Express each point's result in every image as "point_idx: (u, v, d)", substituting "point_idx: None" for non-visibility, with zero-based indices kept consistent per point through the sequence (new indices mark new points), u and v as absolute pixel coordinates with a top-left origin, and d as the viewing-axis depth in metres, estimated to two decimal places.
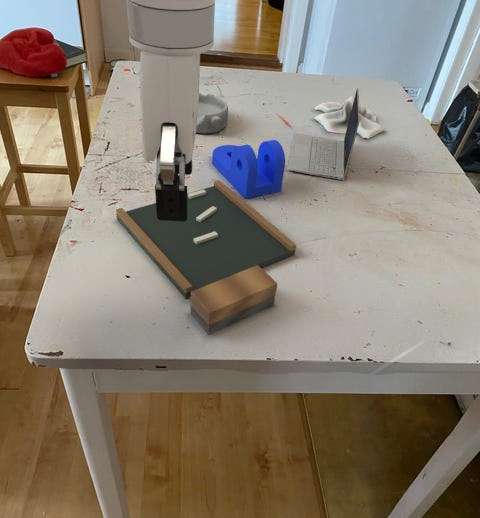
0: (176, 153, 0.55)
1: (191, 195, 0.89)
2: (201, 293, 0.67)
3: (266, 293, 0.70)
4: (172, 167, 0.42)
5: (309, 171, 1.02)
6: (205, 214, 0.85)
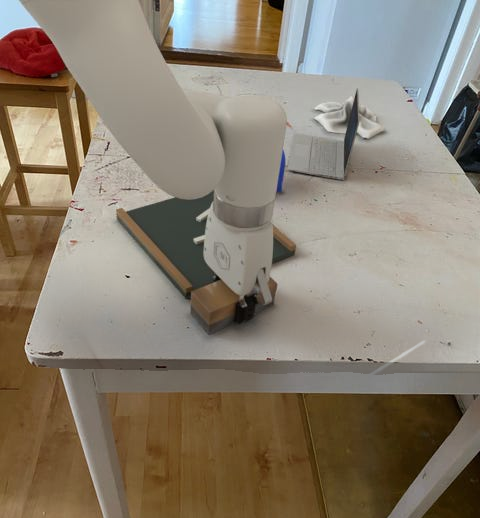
0: None
1: None
2: (201, 293, 0.67)
3: None
4: (271, 301, 0.63)
5: (309, 171, 1.02)
6: (205, 214, 0.85)
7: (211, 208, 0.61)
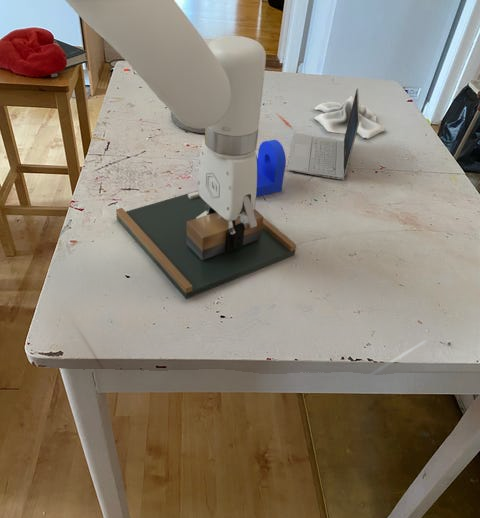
0: None
1: (191, 195, 0.89)
2: (195, 223, 0.76)
3: None
4: (255, 225, 0.72)
5: (309, 171, 1.02)
6: (205, 214, 0.85)
7: (203, 142, 0.70)
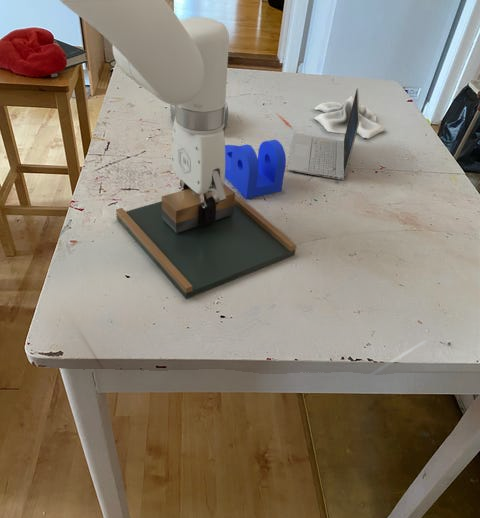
0: None
1: None
2: (170, 197, 0.80)
3: (225, 201, 0.83)
4: (225, 198, 0.76)
5: (309, 171, 1.02)
6: None
7: (175, 120, 0.74)
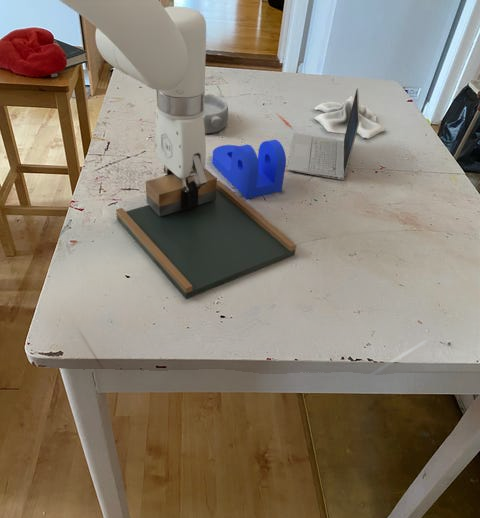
0: None
1: None
2: (153, 182, 0.84)
3: (207, 186, 0.86)
4: (205, 182, 0.79)
5: (309, 171, 1.02)
6: None
7: None
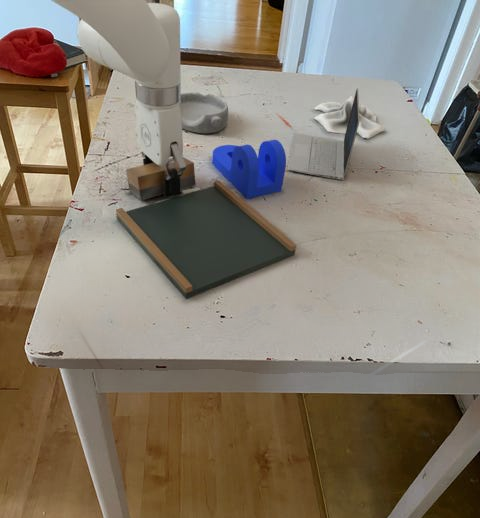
0: None
1: None
2: (133, 169, 0.89)
3: (185, 170, 0.91)
4: (185, 167, 0.83)
5: (309, 171, 1.02)
6: None
7: None
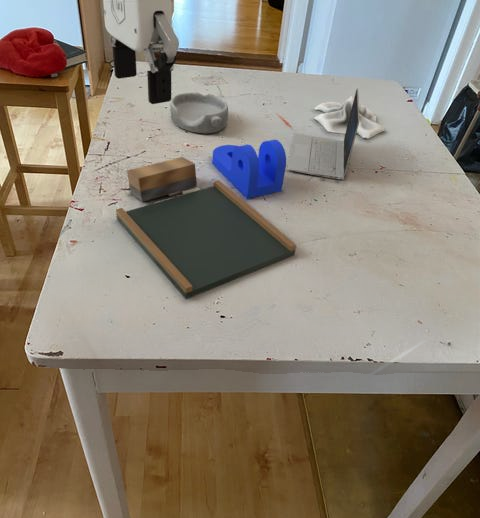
0: (124, 57, 0.66)
1: None
2: (134, 170, 0.88)
3: (186, 171, 0.91)
4: (178, 43, 0.56)
5: (309, 171, 1.02)
6: None
7: None
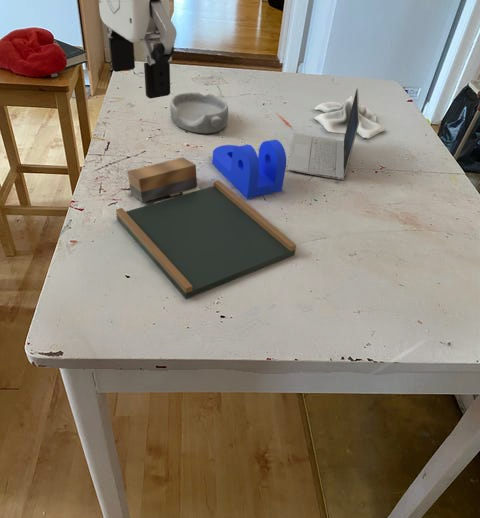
0: (122, 49, 0.63)
1: None
2: (135, 171, 0.88)
3: (187, 172, 0.90)
4: (175, 32, 0.52)
5: (309, 171, 1.02)
6: None
7: None
